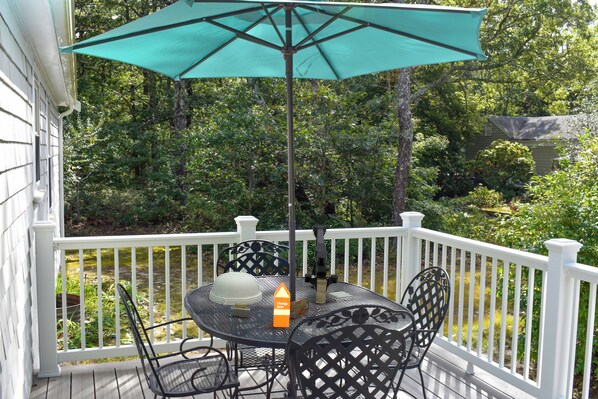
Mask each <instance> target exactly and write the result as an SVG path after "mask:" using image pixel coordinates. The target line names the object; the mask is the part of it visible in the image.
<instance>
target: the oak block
mask: <svg viewBox="0 0 598 399" xmlns="http://www.w3.org/2000/svg"><path fill="white" fill-rule="evenodd" d="M326 284H327V280H326V279H317V292H316V291H315V304H316V303H325V304H326V296H327V295H326V294H327V292H326Z"/></svg>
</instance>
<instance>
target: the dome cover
mask: <svg viewBox="0 0 598 399" xmlns="http://www.w3.org/2000/svg"><path fill="white" fill-rule="evenodd" d="M213 281H214V282H213V284H212V287H211V289H210V292H209V295H208V299H209V300H210V301H211V302H213V303H216V304H219V305H223V306H235V304H236V303H238V304H241V305H243V306H245V305H244V304H247V306H248V305H253V304H257V303H259V302H261V301H262V299H263V293H262V290H261V289H260V284H259V281H258V280H257V278H256V277H255V276H254V275H252V274H250V273H247V272H242V271H232V272H231V271H230V272H225V273H222V274H219V275H218V276H217V277H216V278H215V280H213Z"/></svg>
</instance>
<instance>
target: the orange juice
mask: <svg viewBox="0 0 598 399" xmlns="http://www.w3.org/2000/svg"><path fill="white" fill-rule="evenodd" d="M273 298H274V299H273V300H274V302H273V327H275V328H280V327H281V328H290V316H289V315H290V303H291V292H290V291H289V290H288V288H287V286H286V285H285V284H284V282H281V283H280V285H279V286H278V288H277V289H276V290H275V291H274V294H273Z"/></svg>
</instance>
